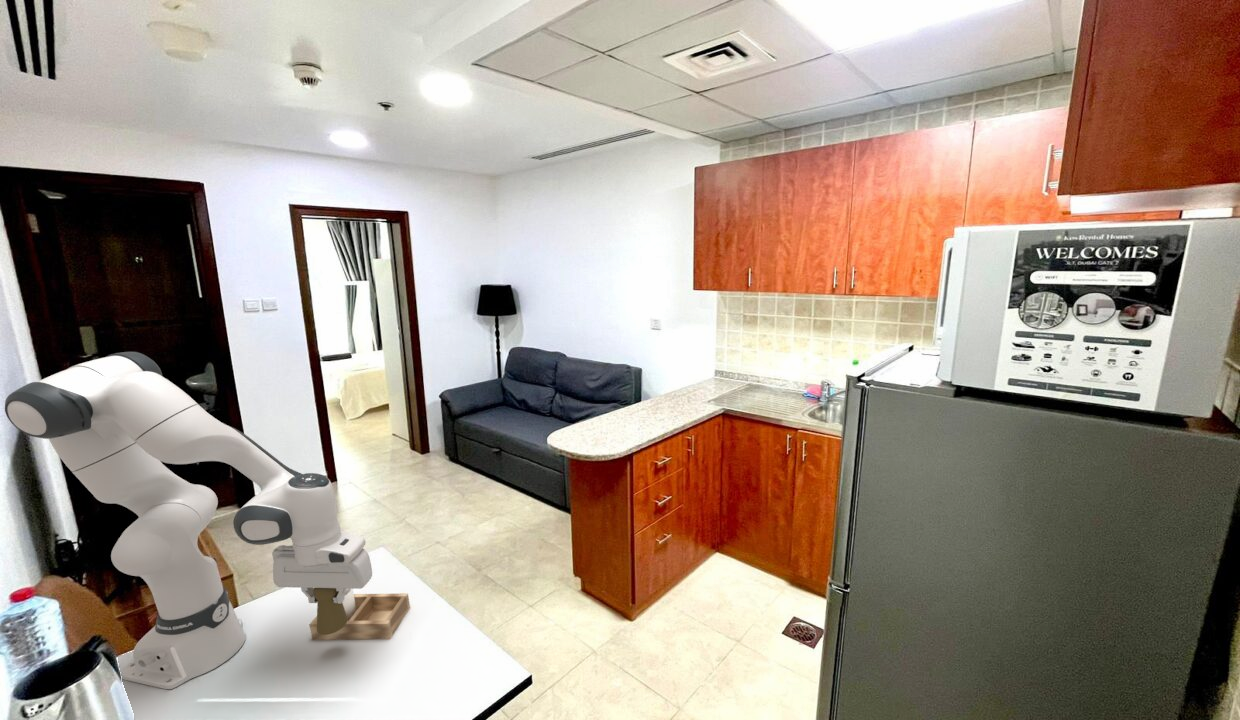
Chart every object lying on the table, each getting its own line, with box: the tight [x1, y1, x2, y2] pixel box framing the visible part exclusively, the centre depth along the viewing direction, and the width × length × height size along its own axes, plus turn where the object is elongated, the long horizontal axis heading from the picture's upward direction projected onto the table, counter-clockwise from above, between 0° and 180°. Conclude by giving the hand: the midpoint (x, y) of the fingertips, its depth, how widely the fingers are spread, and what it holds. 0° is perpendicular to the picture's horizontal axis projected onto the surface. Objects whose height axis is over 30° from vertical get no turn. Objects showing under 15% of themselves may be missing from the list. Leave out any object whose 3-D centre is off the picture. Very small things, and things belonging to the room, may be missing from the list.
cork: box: [313, 588, 348, 635], centre depth 106 cm, size 6×6×11 cm
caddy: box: [308, 592, 411, 641], centre depth 117 cm, size 19×10×5 cm, turn 88°
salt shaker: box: [342, 588, 357, 621], centre depth 116 cm, size 6×6×10 cm
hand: (327, 601), depth 105 cm, fingers closed on cork, 4 cm apart
